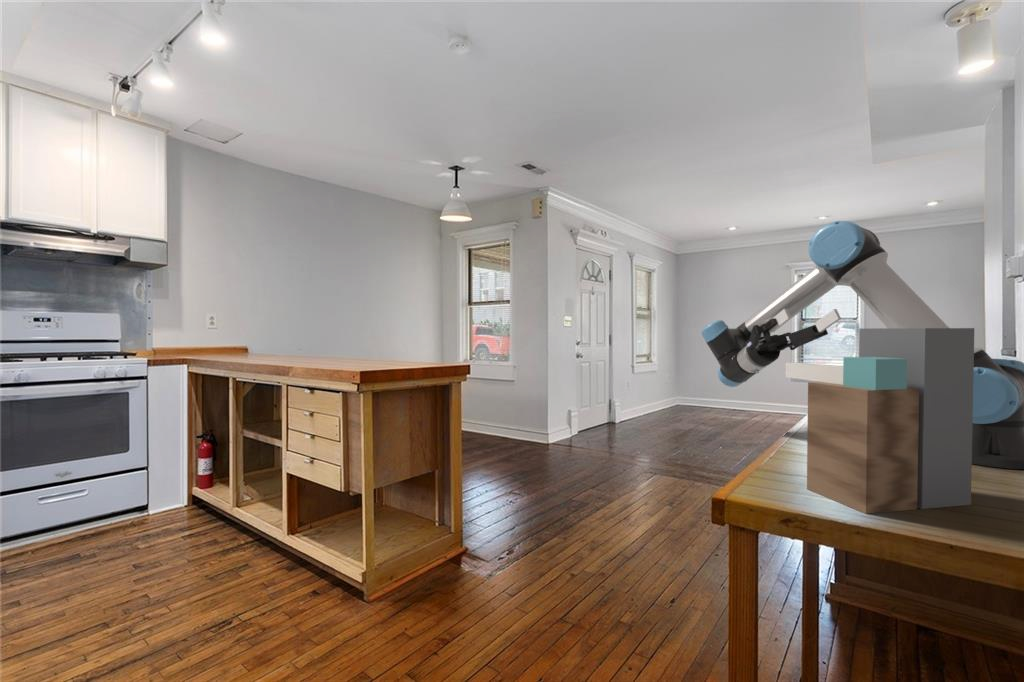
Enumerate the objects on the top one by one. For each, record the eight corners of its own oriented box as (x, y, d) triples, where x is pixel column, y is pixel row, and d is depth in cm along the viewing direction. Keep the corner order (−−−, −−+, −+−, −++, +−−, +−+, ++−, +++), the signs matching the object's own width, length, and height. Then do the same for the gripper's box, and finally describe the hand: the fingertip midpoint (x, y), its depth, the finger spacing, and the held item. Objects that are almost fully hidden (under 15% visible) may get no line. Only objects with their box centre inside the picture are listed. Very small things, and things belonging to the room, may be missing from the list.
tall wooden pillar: (852, 485, 90) (854, 381, 89) (917, 509, 78) (919, 389, 77) (806, 489, 88) (808, 382, 87) (865, 513, 76) (867, 390, 76)
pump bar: (804, 376, 98) (805, 352, 98) (906, 389, 77) (906, 358, 77) (779, 377, 97) (779, 353, 96) (875, 390, 76) (876, 359, 76)
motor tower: (900, 482, 92) (903, 328, 91) (970, 504, 80) (974, 328, 79) (857, 485, 90) (859, 328, 89) (922, 508, 78) (925, 328, 77)
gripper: (803, 366, 130) (864, 327, 112) (721, 367, 126) (771, 327, 107) (793, 342, 134) (850, 300, 115) (713, 342, 129) (760, 300, 111)
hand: (813, 313), depth 111 cm, fingers open, 13 cm apart
